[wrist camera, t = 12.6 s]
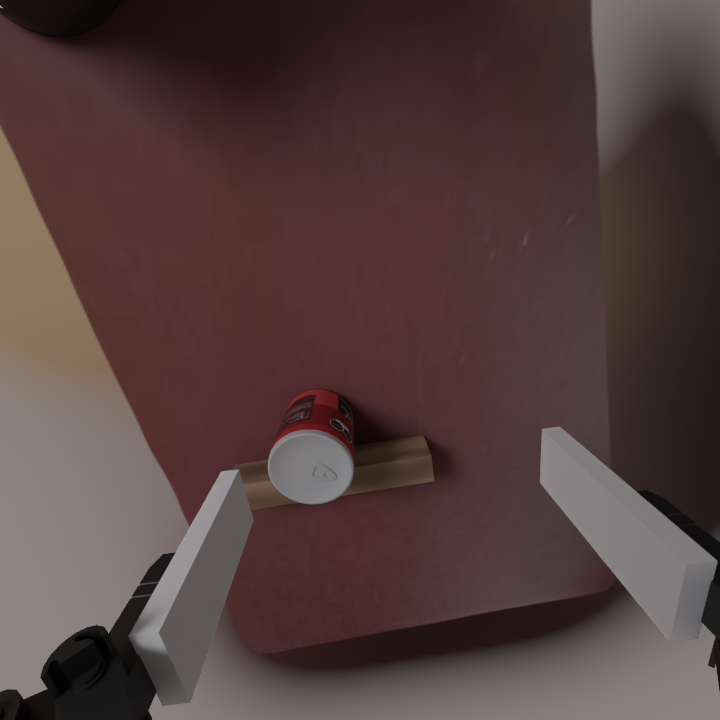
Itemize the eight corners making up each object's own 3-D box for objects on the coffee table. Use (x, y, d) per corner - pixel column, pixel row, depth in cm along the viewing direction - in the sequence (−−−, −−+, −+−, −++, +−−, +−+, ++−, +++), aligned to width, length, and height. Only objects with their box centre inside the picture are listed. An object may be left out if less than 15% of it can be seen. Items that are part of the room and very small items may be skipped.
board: (234, 465, 44) (222, 488, 39) (423, 434, 43) (431, 455, 39) (242, 488, 45) (230, 513, 40) (426, 458, 44) (434, 481, 40)
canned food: (348, 447, 43) (348, 509, 33) (284, 439, 43) (263, 500, 32) (357, 391, 41) (360, 439, 31) (290, 382, 41) (269, 427, 30)
